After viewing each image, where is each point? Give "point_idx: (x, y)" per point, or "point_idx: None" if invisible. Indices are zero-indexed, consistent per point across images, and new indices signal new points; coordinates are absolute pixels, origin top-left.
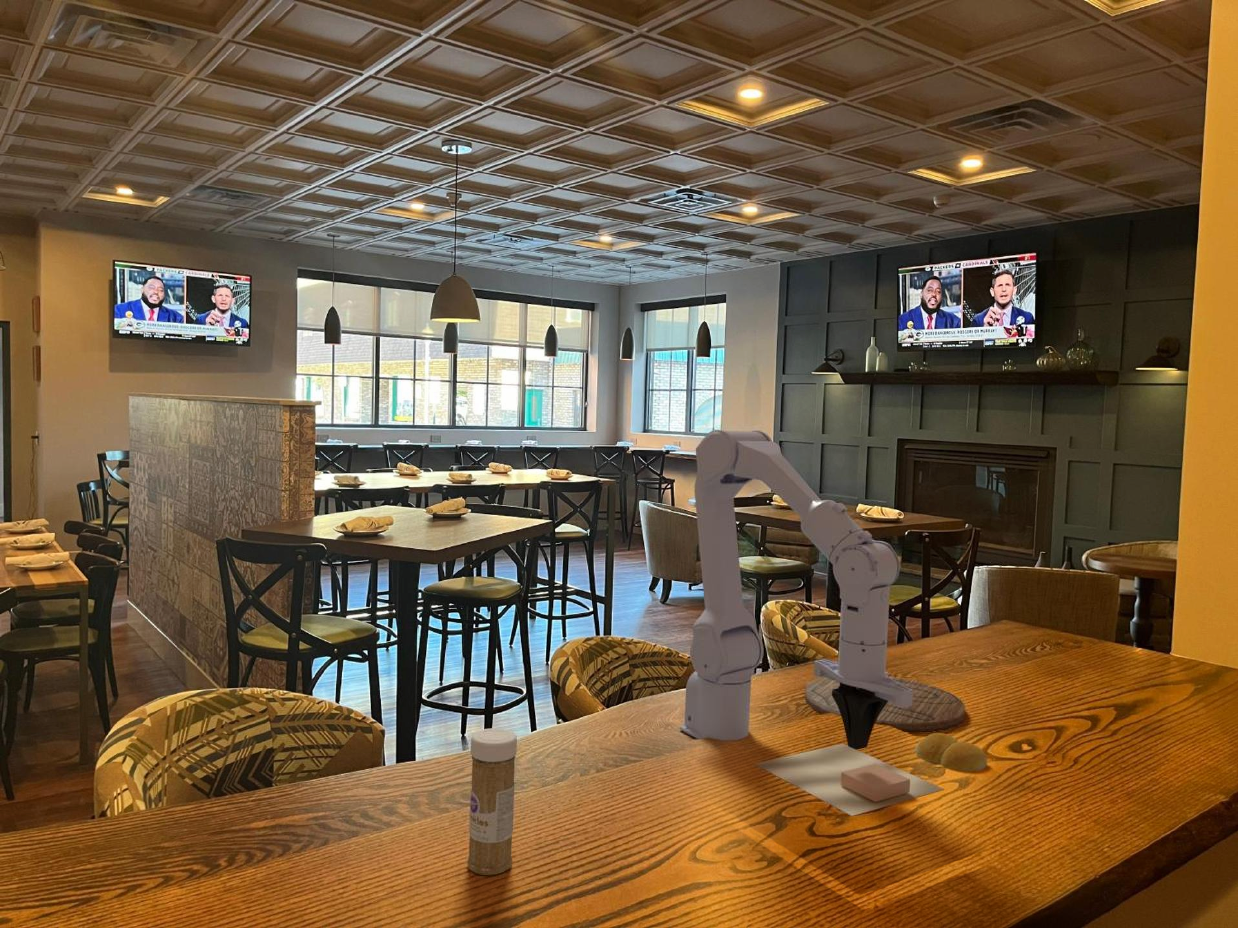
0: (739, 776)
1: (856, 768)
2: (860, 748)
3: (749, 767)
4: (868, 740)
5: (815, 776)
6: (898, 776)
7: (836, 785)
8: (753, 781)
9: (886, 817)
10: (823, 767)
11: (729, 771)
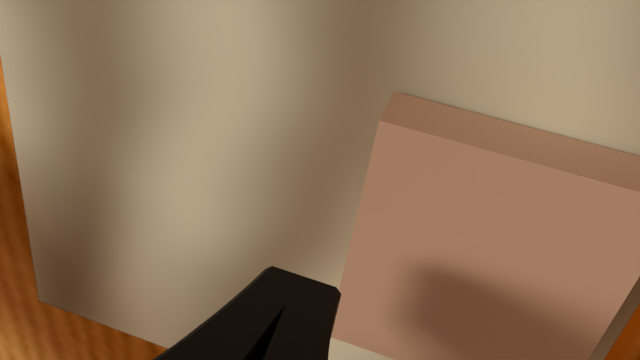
0: (75, 337)
1: (348, 256)
2: (330, 338)
3: (27, 264)
4: (332, 320)
5: (223, 270)
6: (594, 211)
7: None
8: (120, 344)
9: (614, 348)
10: (171, 163)
11: (34, 324)
